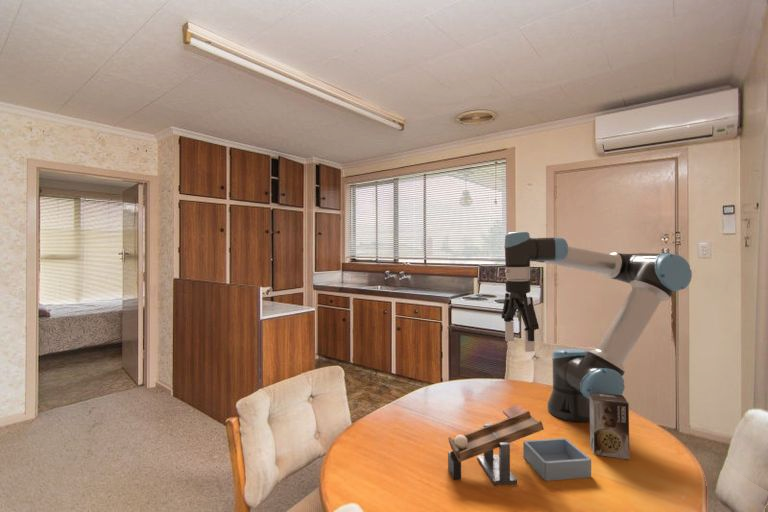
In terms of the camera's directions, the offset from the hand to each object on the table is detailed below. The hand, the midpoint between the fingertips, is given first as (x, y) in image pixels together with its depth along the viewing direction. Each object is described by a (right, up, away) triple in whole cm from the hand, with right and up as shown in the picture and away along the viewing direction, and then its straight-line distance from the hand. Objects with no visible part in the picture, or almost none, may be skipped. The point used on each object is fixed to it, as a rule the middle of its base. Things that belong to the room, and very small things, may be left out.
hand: (519, 345), depth 120 cm
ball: (-23, -20, -22) cm, 38 cm away
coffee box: (+22, -29, -11) cm, 38 cm away
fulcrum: (-18, -29, -21) cm, 40 cm away
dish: (+3, -28, -18) cm, 34 cm away
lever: (-14, -20, -17) cm, 30 cm away
